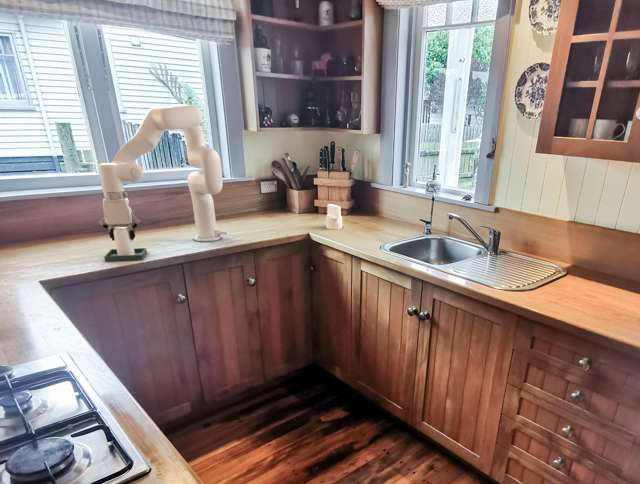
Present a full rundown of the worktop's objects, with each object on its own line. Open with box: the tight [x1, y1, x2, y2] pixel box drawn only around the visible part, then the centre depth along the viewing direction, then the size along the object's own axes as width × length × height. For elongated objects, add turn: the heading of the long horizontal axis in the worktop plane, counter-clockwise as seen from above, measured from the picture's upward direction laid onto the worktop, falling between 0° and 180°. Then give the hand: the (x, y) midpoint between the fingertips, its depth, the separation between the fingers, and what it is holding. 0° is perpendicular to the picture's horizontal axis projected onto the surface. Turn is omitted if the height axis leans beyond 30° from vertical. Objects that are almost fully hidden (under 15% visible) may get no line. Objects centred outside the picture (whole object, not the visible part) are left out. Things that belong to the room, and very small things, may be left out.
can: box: [113, 225, 135, 256], centre depth 194 cm, size 6×6×12 cm
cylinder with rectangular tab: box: [325, 203, 343, 230], centre depth 256 cm, size 9×9×12 cm
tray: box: [104, 247, 148, 262], centre depth 197 cm, size 14×11×2 cm
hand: (123, 239), depth 194 cm, fingers closed on can, 6 cm apart
